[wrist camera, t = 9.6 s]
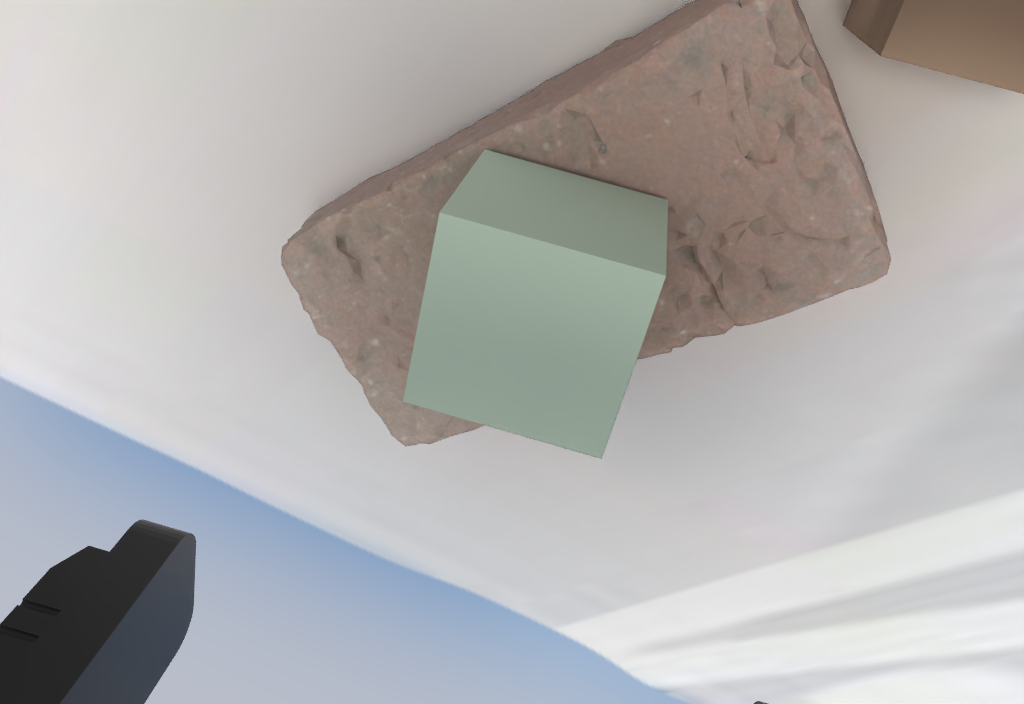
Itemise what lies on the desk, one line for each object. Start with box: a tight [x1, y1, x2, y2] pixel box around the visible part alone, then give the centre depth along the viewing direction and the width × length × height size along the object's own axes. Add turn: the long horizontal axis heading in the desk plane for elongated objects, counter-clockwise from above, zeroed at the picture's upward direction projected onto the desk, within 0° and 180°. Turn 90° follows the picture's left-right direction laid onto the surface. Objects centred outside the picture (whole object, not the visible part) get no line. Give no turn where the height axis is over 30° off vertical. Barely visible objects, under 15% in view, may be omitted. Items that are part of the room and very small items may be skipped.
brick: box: [281, 0, 891, 446], centre depth 26 cm, size 17×8×5 cm, turn 119°
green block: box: [403, 149, 668, 459], centre depth 22 cm, size 5×5×5 cm
